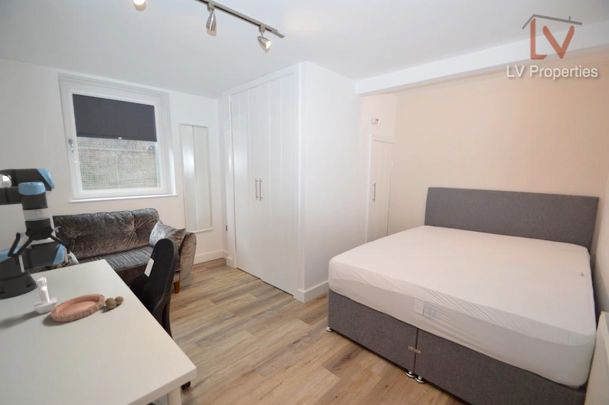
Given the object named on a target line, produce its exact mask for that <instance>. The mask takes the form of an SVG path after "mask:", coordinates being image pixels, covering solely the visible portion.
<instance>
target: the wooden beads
mask: <svg viewBox="0 0 609 405" xmlns="http://www.w3.org/2000/svg"><path fill="white" fill-rule="evenodd" d="M123 302H124V297H123V296H116V297H115V298H113V297H108V298H105V305H104V306H106V308H107V309H109V310H110V309H111V310H113V309H115V308H116V306H117V305H121V304H123Z"/></svg>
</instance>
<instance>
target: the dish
mask: <svg viewBox="0 0 609 405" xmlns="http://www.w3.org/2000/svg"><path fill="white" fill-rule="evenodd" d="M105 301H106V297H105V295H103V294H100V293H92V294H85V295H80V296H76V297H73V298H70V299H67V300H66V301H63V302H62V303H59V304H56V305H55V308H53V310H52V311H50V316H51V317H50V318H51V319H52V320H53V321H54V322H58V323H65V322H72V321H76V320H79V319H83V318H86V317H88V316H91V315H92V314H95V313H96V312H98V311H100V310H101V309H103V307H104V306H106V305H105Z"/></svg>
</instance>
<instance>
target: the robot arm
mask: <svg viewBox="0 0 609 405" xmlns="http://www.w3.org/2000/svg"><path fill="white" fill-rule="evenodd" d="M51 175H52V174H51V173H50V171H49V169H47V168H35V167H34V168H6V169H0V206H9V205H10V206H12V205H21V207H22V215H23V219H24V220H25V221H24V225H25V231H24V232H19V231H17V232H16V233H15V239H14V241H12V242H13V243H12V244H11V245H10V247H9V248H5V249H2V250H0V300H2V299H9V298H14V297H18V296H21V295H24V294H27V293H29V292H31V291H33V290H35V289H37V287H38V284H37V280H35V279H34V277H33V276H32V274H31V273H30V270H34V269H38V268H44V267H47V266H48V267H49V266H54V265H57V264H58V265H59V264H61V263H63V262H64V261H65V263H69V258H68V255H70V254H71V250H70V248H71V246H74V245H75V242H74V241H72V239H71V238H70V237H69V236H68V235H67V234H66V233H65V232H64V231H63V228H62V227H61V226H57V227H55V224H54V219H53V213H52V212H53V211H52V206H51V200H50V195H51V194H52V192H53V190H54V189H55V184H54V180H53V178H52V176H51ZM56 233H59V234H60V236H62V237H63V238H64V240H66V241H67V242H68V243H67V242H65V241H63V240H61V239H60V238H58V237H57V235H56ZM24 236H26V237H28V238H27V239H26V241H25V242H24V243H23V244H22V245H19V242H20V241H21V239H22V238H24ZM29 245H30V247H29Z"/></svg>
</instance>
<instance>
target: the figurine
mask: <svg viewBox="0 0 609 405" xmlns="http://www.w3.org/2000/svg"><path fill="white" fill-rule="evenodd" d="M36 284H37V287H38V294H39V300H40V301H35V302H33V303H34V304H33V310H34V311H36V312H37V313H38V314H40V315H41V314H44V313H48V312H51V311H52V310H53V308H55V307H56V306H57V302H58V301H57V296H53V297H51V298H50V297H49V292H48V291H49V290H48V283H47V278H46V277H45V276H44V277H43V276H42V277H39V278H38V279H37V280H36Z"/></svg>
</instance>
